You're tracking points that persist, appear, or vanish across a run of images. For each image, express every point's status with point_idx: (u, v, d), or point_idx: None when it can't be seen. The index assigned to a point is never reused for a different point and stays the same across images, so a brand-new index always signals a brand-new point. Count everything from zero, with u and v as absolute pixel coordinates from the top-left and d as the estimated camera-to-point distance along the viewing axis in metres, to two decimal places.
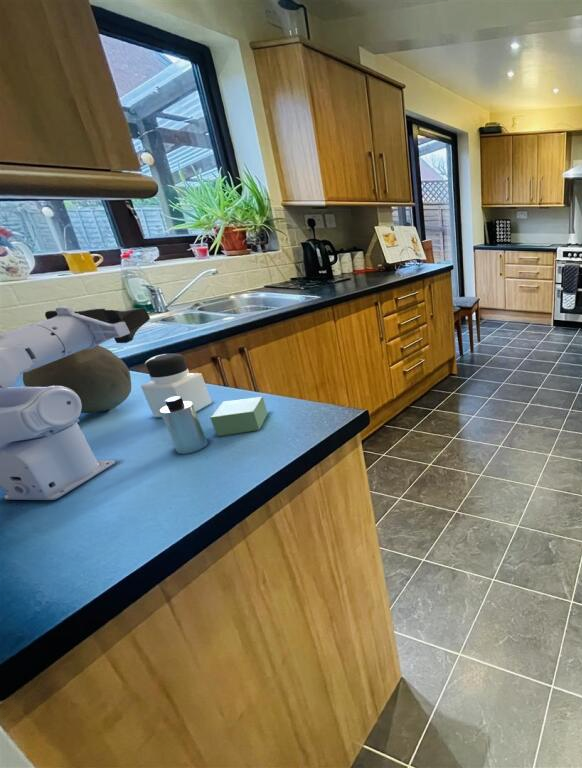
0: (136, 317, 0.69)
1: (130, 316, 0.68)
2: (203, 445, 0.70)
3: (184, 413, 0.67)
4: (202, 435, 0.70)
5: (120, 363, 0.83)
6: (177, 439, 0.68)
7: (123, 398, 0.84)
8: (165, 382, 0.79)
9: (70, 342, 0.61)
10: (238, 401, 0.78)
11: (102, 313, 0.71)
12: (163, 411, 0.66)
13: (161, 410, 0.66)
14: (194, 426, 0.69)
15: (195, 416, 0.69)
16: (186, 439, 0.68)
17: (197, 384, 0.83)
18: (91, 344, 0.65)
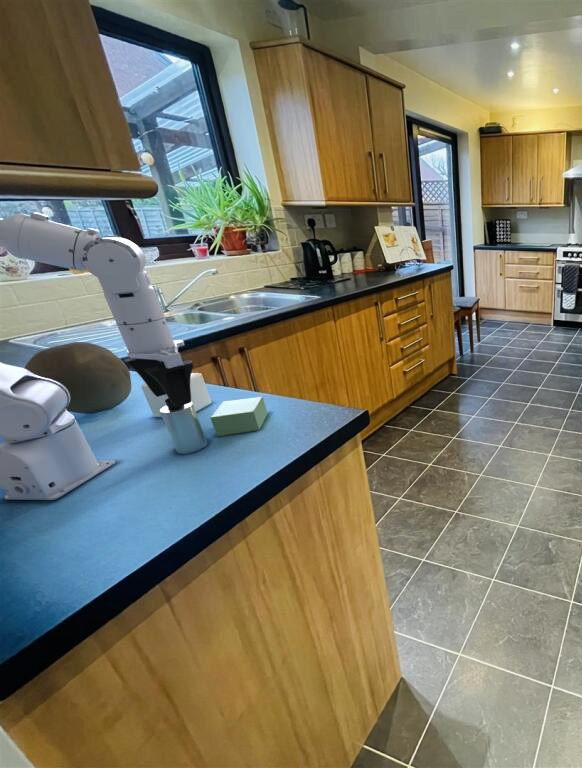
0: (179, 391, 0.64)
1: (181, 384, 0.64)
2: (203, 445, 0.70)
3: (184, 413, 0.67)
4: (202, 435, 0.70)
5: (120, 363, 0.83)
6: (177, 439, 0.68)
7: (123, 398, 0.84)
8: None
9: (146, 329, 0.60)
10: (238, 401, 0.78)
11: None
12: (163, 411, 0.66)
13: (161, 410, 0.66)
14: (194, 426, 0.69)
15: (195, 416, 0.69)
16: (186, 439, 0.68)
17: (197, 384, 0.83)
18: (140, 352, 0.61)
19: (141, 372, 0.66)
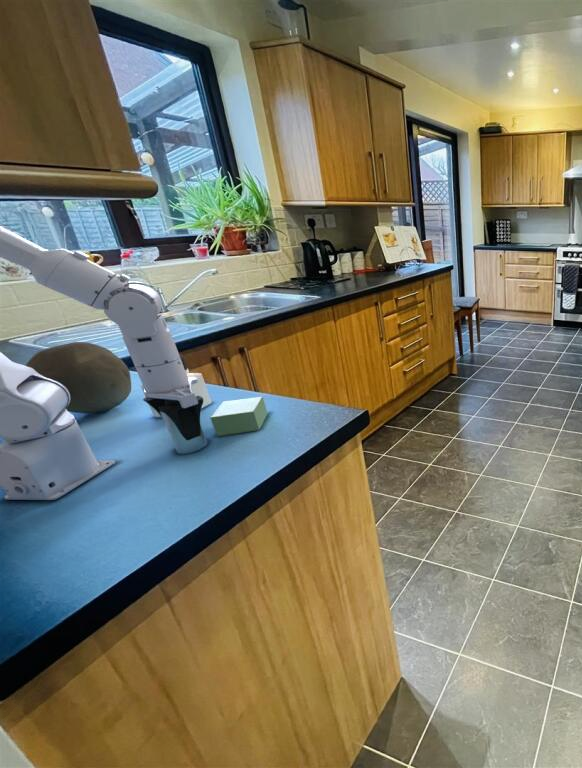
0: (190, 425, 0.67)
1: (191, 419, 0.67)
2: (203, 445, 0.71)
3: None
4: (202, 435, 0.70)
5: (120, 363, 0.83)
6: (177, 439, 0.68)
7: (123, 398, 0.84)
8: None
9: (163, 370, 0.63)
10: (238, 401, 0.78)
11: None
12: None
13: None
14: None
15: None
16: None
17: (197, 384, 0.83)
18: (156, 392, 0.63)
19: None
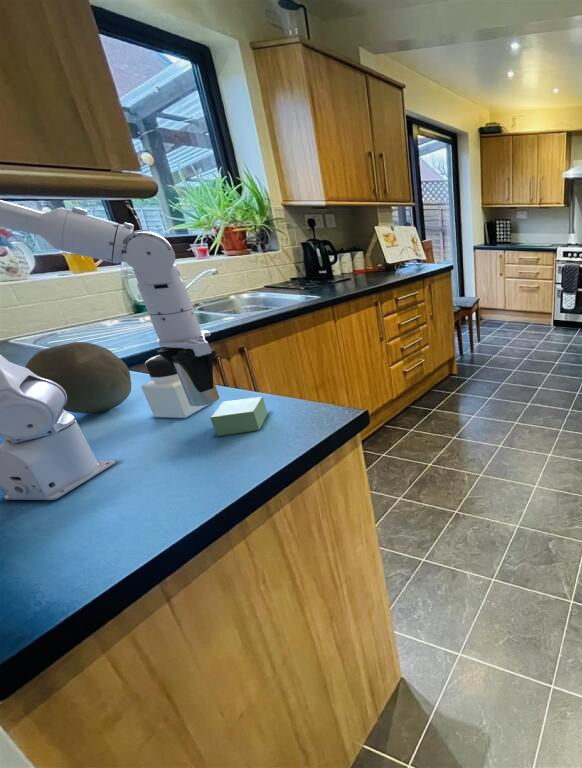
0: (203, 377, 0.68)
1: (204, 371, 0.68)
2: (215, 399, 0.71)
3: None
4: (214, 389, 0.71)
5: (120, 363, 0.83)
6: (190, 391, 0.68)
7: (123, 398, 0.84)
8: (165, 382, 0.79)
9: (177, 319, 0.63)
10: (238, 401, 0.78)
11: None
12: (176, 362, 0.66)
13: (174, 361, 0.67)
14: None
15: None
16: None
17: None
18: (170, 341, 0.64)
19: None
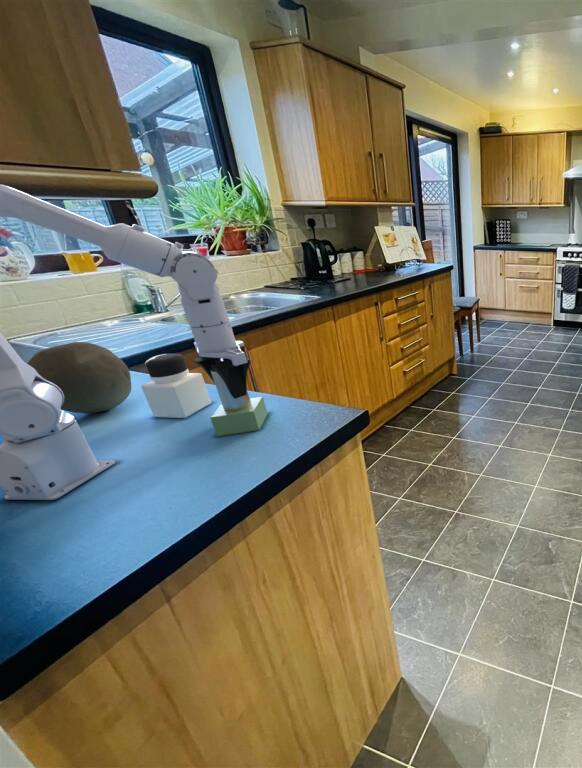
0: (238, 384, 0.73)
1: (239, 379, 0.73)
2: (248, 404, 0.76)
3: None
4: (247, 395, 0.76)
5: (120, 363, 0.83)
6: (226, 397, 0.73)
7: (123, 398, 0.84)
8: (165, 382, 0.79)
9: (216, 331, 0.68)
10: None
11: None
12: (214, 370, 0.72)
13: (211, 370, 0.72)
14: None
15: None
16: None
17: (197, 384, 0.83)
18: (209, 351, 0.69)
19: (209, 370, 0.73)
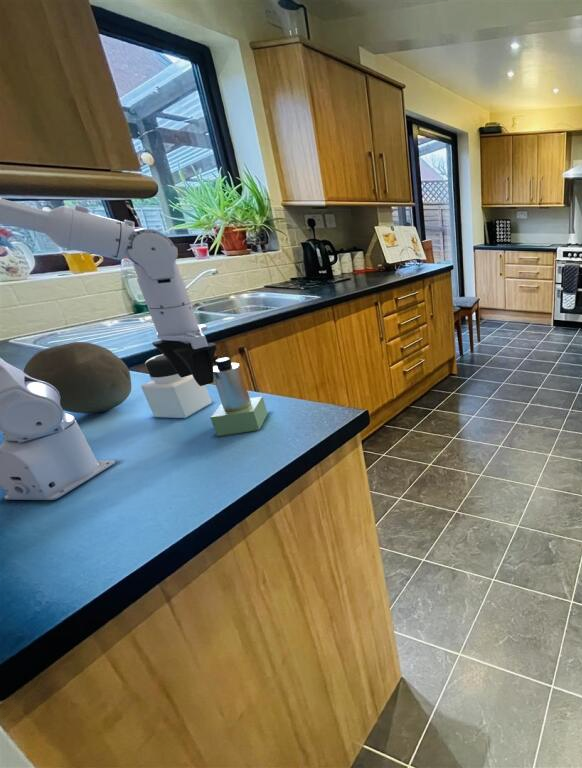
0: (203, 371, 0.69)
1: (205, 365, 0.69)
2: (248, 404, 0.76)
3: (233, 373, 0.72)
4: (247, 395, 0.76)
5: (120, 363, 0.83)
6: (226, 397, 0.73)
7: (123, 398, 0.84)
8: (165, 382, 0.79)
9: (175, 313, 0.66)
10: None
11: (189, 371, 0.74)
12: (214, 370, 0.71)
13: None
14: (241, 386, 0.74)
15: (242, 377, 0.75)
16: (233, 397, 0.74)
17: (197, 384, 0.83)
18: (168, 334, 0.66)
19: (168, 354, 0.71)
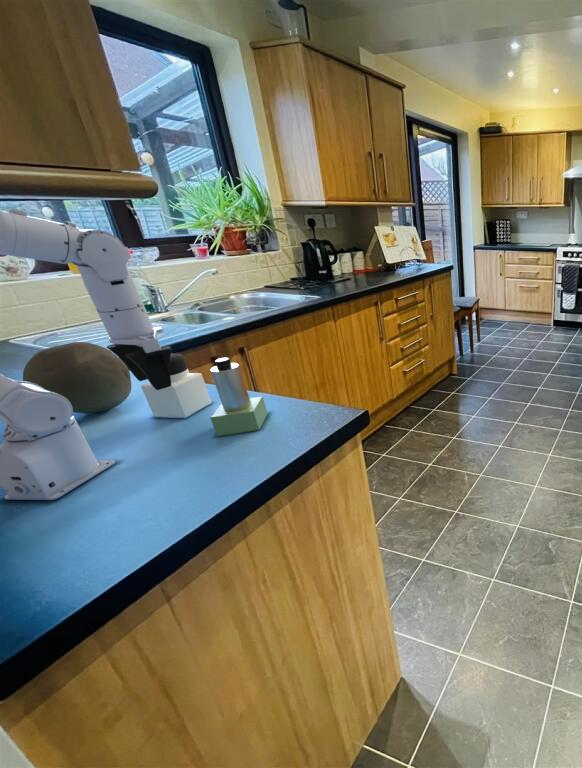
0: (159, 375, 0.68)
1: (160, 369, 0.68)
2: (248, 404, 0.76)
3: (232, 372, 0.72)
4: (247, 395, 0.76)
5: (120, 363, 0.83)
6: (226, 397, 0.73)
7: (123, 398, 0.84)
8: None
9: (126, 316, 0.64)
10: None
11: None
12: (213, 370, 0.72)
13: (211, 370, 0.72)
14: (241, 386, 0.74)
15: (241, 377, 0.75)
16: (233, 397, 0.74)
17: (197, 384, 0.83)
18: (120, 338, 0.64)
19: (124, 358, 0.70)
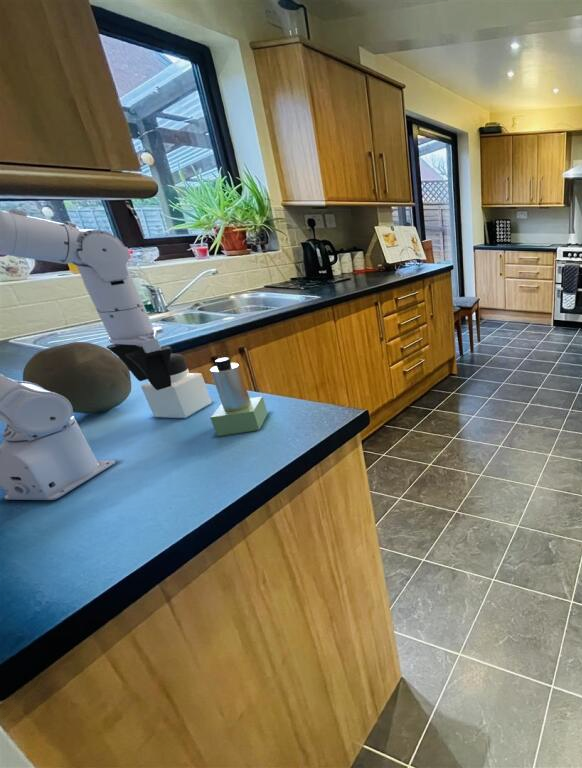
0: (159, 375, 0.68)
1: (160, 369, 0.68)
2: (248, 404, 0.76)
3: (232, 372, 0.72)
4: (247, 395, 0.76)
5: (120, 363, 0.83)
6: (226, 397, 0.73)
7: (123, 398, 0.84)
8: None
9: (126, 316, 0.64)
10: None
11: None
12: (213, 370, 0.72)
13: (211, 370, 0.72)
14: (241, 386, 0.74)
15: (241, 377, 0.75)
16: (233, 397, 0.74)
17: (197, 384, 0.83)
18: (120, 338, 0.64)
19: (124, 358, 0.70)
